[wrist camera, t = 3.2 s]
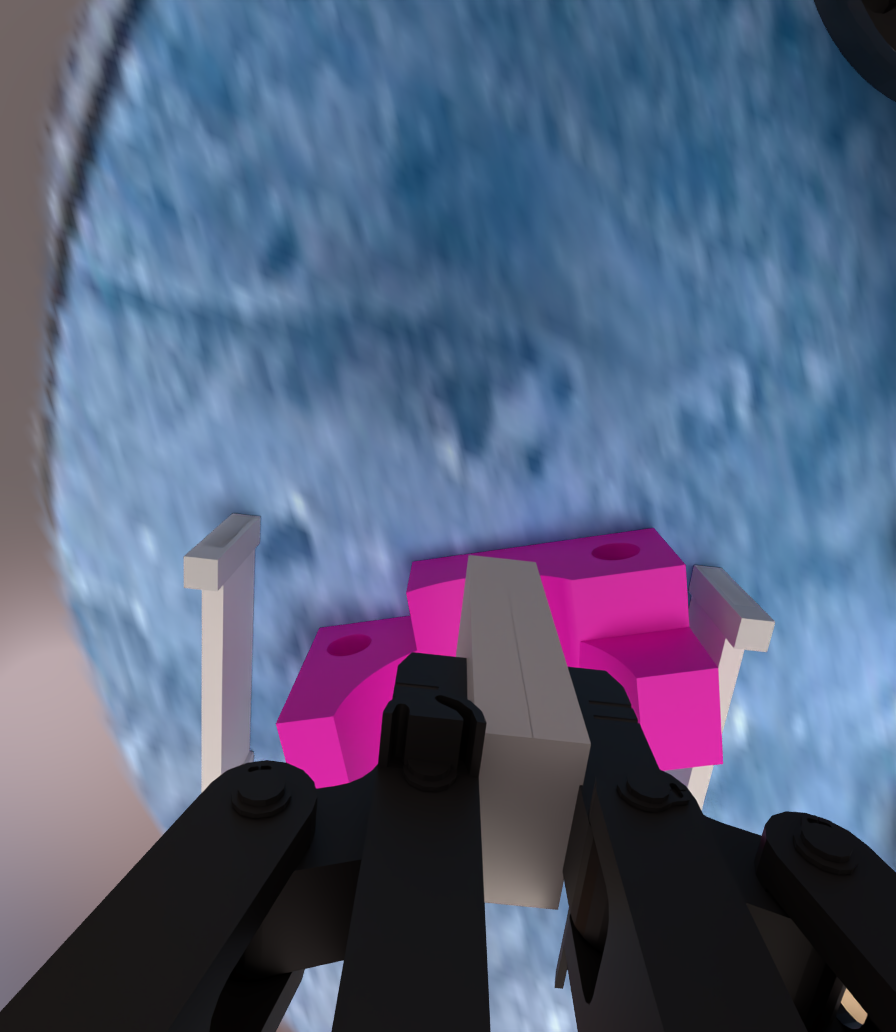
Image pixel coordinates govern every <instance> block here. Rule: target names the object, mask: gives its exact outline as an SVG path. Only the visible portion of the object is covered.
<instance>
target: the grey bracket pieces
mask: <svg viewBox="0 0 896 1032" xmlns="http://www.w3.org/2000/svg"><path fill="white" fill-rule="evenodd" d="M260 518H261V517H260V516H251V515H242V514H233V513H232V514H231V515H230V516H229V517H228V518H227V519H225V520H224V521H223V522H222V523H221V524H220V525H219V526H218V527H216V528H215V529H214V530H213V531H212V532H211V533H210V534H209V535H207V536H206V537H205V538H204V539H203V540H202V541H201V542H199V543H198V544H197V545H196V546H195V547H194V548H193V549H192V550H190V551H189V552H188V553H187V554H186V555H185V556H184V588H191V589H200V590H202V792H203V791H204V790H205V789H206V788H207V787H208V786H209V784H210V783H211V782H212V781H214V780H215V779H216V778H218V777H219V776H220V775H222V774H223V773H224V772H225V771H227V770H229V769H232V768H234V767H237V766H240V765H242V764H245V763H249V762H253V760H254V752H251V751H250V716H251V679H252V641H253V604H254V567H255V548H256V547H257V546H258V545H259V543H260ZM688 591H689V592H690V594H691V595H692V597H691V601H690V605H689V609H688V612H689V627H690V629H691V630H692V631H693V633H694V634H695V636H696V637H697V638H698V640H699V641H700V643H701V644H702V646H703V647H704V648H705V650H706V651H707V653H708V654H709V655H710V657H711V658H712V660H713V661H714V662H715V664H716V665H717V667H718V670H719V691H720V711H721V732H723V728H724V724H725V721H726V717H727V713H728V709H729V706H730V702H731V698H732V694H733V691H734V687H735V683H736V679H737V676H738V672H739V668H740V664H741V661H742V657H743V653H744V650H752V651H761V652H767V650H768V647H769V643H770V639H771V636H772V632H773V629H774V625H775V621H774V620H773V619H772V618H771V617H770V616H769V615H768V614H767V613H766V612H765V611H764V610H763V609H762V608H761V607H760V606H759V605H758V604H757V603H756V602H755V601H754V600H753V599H752V598H751V597H750V596H749V595H748V594H747V593H746V592H745V591H744V590H743V589H742V588H741V587H740V586H739V585H738V584H737V583H736V582H735V581H734V580H733V579H732V578H731V577H730V576H729V575H728V574H727V573H726V572H725V571H724V570H723V569H722V568H717V567H708V566H699V565H694V568H693V572H692V577H691V581H690V585H689V589H688ZM712 769H713V765H709V766H700V767H692V768H683V769H675V770H666V771H664V772H666V773H669V774H671V775H672V776H673V777H675V778H676V779H677V780H679V781H680V782H681V783H683V784H684V785H685V786H686V787H687V788H688V789H689V791H690V792H691V793H692V795H693V796H694V797H695V799H696V800H697V802H698V805H699V807H700V809H701V810H702V807H703V803H704V799H705V795H706V792H707V788H708V784H709V780H710V777H711V773H712Z"/></svg>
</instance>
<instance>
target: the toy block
mask: <svg viewBox="0 0 896 1032" xmlns="http://www.w3.org/2000/svg"><path fill="white" fill-rule="evenodd" d="M468 555H474V556H483V557H493V558H502V559H511V560H520V561H529V562H536V565H537V568H538V571H539V575H540V578H541V581H542V584H543V588H544V591H545V594H546V598H547V601H548V604H549V607H550V611H551V614H552V617H553V621H554V624H555V627H556V630H557V634H558V637H559V640H560V644H561V647H562V650H563V654H564V657H565V660H566V663H567V667H576V668H586V669H595V670H605V671H607V672H608V673H609V674H610V675H611V676H612V677H613V678H614V679H615V680H617V681H618V682H619V683H620V684H621V685H622V686H623V687H624V689H625V691H626V693H627V696H628V698H629V700H630V702H631V708H633V709H634V712H635V714H636V716H637V718H638V723H640V725H641V728H642V730H643V732H644V735H645V737H646V739H647V741H648V744H649V746H650V748H651V751H652V753H653V755H654V757H655V760H656V762H657V764H658V767H659V769H660V770H662V771H666V770H675V769H683V768H692V767H700V766H709V765H718V764H723V753H722V732H721V711H720V691H719V670H718V667H717V665H716V664H715V662H714V661H713V660H712V658H711V657H710V655H709V654H708V653H707V651H706V650H705V648H704V647H703V646H702V644H701V643H700V641H699V640H698V638H697V637H696V636H695V634H694V633H693V631H692V630H691V629H690V627H689V612H688V596H687V579H686V565H685V563H684V562H683V561H682V560H681V559H680V558H679V557H678V555H677V554H676V553H675V552H674V551H673V550H672V548H671V547H670V546H669V545H668V544H667V543H666V542H665V540H664V539H663V538H662V537H661V536H660V535H659V533H658V532H657V531H656V530H655V529H654V528H649V529H642V530H635V531H628V532H621V533H614V534H607V535H600V536H592V537H585V538H578V539H571V540H564V541H557V542H550V543H543V544H535V545H528V546H521V547H514V548H507V549H500V550H493V551H486V552H478V553H471V554H464V555H457V556H450V557H443V558H436V559H429V560H421V561H414V562H412V567H411V572H410V577H409V581H408V586H407V591H406V594H407V600H408V605H409V610H410V615H411V616H404V617H397V618H389V619H382V620H374V621H367V622H359V623H352V624H345V625H337V626H330V627H322V628H319V630H318V632H317V635H316V637H315V639H314V641H313V643H312V646H311V648H310V650H309V652H308V654H307V657H306V659H305V661H304V663H303V665H302V668H301V670H300V672H299V674H298V676H297V678H296V681H295V683H294V685H293V687H292V689H291V692H290V694H289V696H288V698H287V700H286V703H285V705H284V707H283V709H282V711H281V714H280V716H279V718H278V720H277V722H276V726H277V730H278V733H279V737H280V741H281V745H282V748H283V752H284V756H285V760H286V763H289V764H291V765H293V766H295V767H297V768H300V769H302V770H304V771H305V772H306V773H307V774H308V775H309V777H310V778H311V779H312V780H313V781H314V783H315V787H316V788H324V787H331V786H337V785H341V784H346V783H350V782H352V781H354V780H357V779H359V778H361V777H363V776H365V775H366V774H367V773H369V772H370V771H372V770H373V769H374V768H375V766H376V765H377V764H378V757H379V747H380V736H381V725H382V715H383V711H384V709H385V707H386V705H387V704H388V702H389V701H390V700H392V698H393V691H394V686H395V680H396V674H397V668H398V665H399V664H400V663H401V662H402V661H403V660H404V659H405V658H406V657H407V656H408V655H409V654H410V653H412V652H416V653H425V654H434V655H444V656H453V657H456V650H457V643H458V635H459V627H460V619H461V611H462V603H463V595H464V587H465V579H466V571H467V563H468Z"/></svg>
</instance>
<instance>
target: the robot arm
mask: <svg viewBox="0 0 896 1032" xmlns="http://www.w3.org/2000/svg"><path fill="white" fill-rule="evenodd" d="M814 2H815V5H816V8H817V10H818V13H819V15H820V17H821V19H822V21H823V23H824V26H825V27H826V29H827V31H828V33H829V35H830V36H831V38H832V40H833V41H834V43H835V44H836V46H837V47H838V49H839V50H840V52H841V53H842V55H843V56H844V57H845V58H846V60H847V61H848V62H849V63H850V65H851V66H852V67H853V68H854V69H855V70H856V71H857V72H858V73H859V74H860V75H861V76H862V77H863V78H864V79H865V80H866V81H867V82H868V83H870V84H871V85H872V86H873V87H874V88H875V89H877V90H878V91H880V92H881V93H882V94H884V95H885V96H887V97H888V98H890V99H891V100H893V101H895V102H896V0H814ZM563 882H565V888H566V893H567V899H568V904H569V910H568V915H567V920H566V925H565V930H564V934H563V939H562V944H561V949H560V954H559V959H558V964H557V968H556V976H555V988H562V989H563V986H564V981H565V977H566V972H567V970H568V974H569V980H570V986H571V992H572V999H573V1005H574V1011H575V1017H576V1023H577V1029H578V1032H896V872H895V871H894V870H893V869H892V868H891V867H890V866H888V865H887V864H886V863H885V862H884V861H883V860H882V859H881V858H880V857H879V856H878V855H877V854H876V853H875V852H874V851H873V850H872V849H871V848H870V847H869V846H867V845H866V844H865V843H864V842H862V841H861V840H860V839H858V838H857V837H856V836H855V835H853V834H852V833H851V832H849V831H848V830H846V829H844V828H842V827H840V826H838V825H836V824H834V823H832V822H831V821H829V820H827V819H824V818H821V817H817V816H814V815H810V814H807V813H800V812H787V811H786V812H783V813H779V814H776V815H772V816H771V818H770V819H769V820H768V822H767V823H766V824H765V827H764V830H763V833H762V836H761V835H757V834H754V833H751V832H748V831H745V830H742V829H739V828H736V827H733V826H730V825H727V824H724V823H721V822H719V821H716V820H714V819H711V818H709V817H706V816H705V815H703V813H702V811H701V809H700V807H699V805H698V802H697V800H696V799H695V797H694V796H693V795H692V793H691V792H690V791H689V789H688V788H687V787H686V786H685V785H684V784H683V783H681V782H680V781H679V780H677V779H676V778H675V777H673V776H672V775H671V774H669V773H666V772H664V771H662V770H660V769H659V767H658V764H657V762H656V760H655V757H654V755H653V753H652V751H651V748H650V746H649V744H648V741H647V739H646V737H645V735H644V732H643V730H642V728H641V725H640V723H638V718H637V716H636V714H635V712H634V709H633V708H631V702H630V700H629V698H628V696H627V693H626V691H625V689H624V687H623V686H622V685H621V684H620V683H619V682H618V681H617V680H615V679H614V678H613V677H612V676H611V675H610V674H609V673H608V672H607V671H605V670H595V669H586V668H576V667H567V663H566V660H565V657H564V654H563V650H562V647H561V644H560V640H559V637H558V634H557V630H556V627H555V624H554V621H553V617H552V614H551V611H550V607H549V604H548V601H547V598H546V594H545V591H544V588H543V584H542V581H541V578H540V575H539V571H538V568H537V565H536V562H529V561H520V560H511V559H502V558H493V557H483V556H474V555H468V563H467V571H466V579H465V587H464V595H463V603H462V611H461V619H460V627H459V635H458V643H457V650H456V657H453V656H444V655H434V654H425V653H416V652H412V653H410V654H409V655H408V656H407V657H406V658H405V659H404V660H403V661H402V662H401V663H400V664H399V665H398V668H397V674H396V680H395V686H394V691H393V698H392V700H390V701H389V702H388V704H387V705H386V707H385V709H384V711H383V715H382V725H381V736H380V747H379V757H378V764H377V765H376V766H375V768H374V769H373V770H372V771H370V772H369V773H367V774H366V775H365V776H363V777H361V778H359V779H357V780H354V781H352V782H350V783H346V784H341V785H337V786H331V787H324V788H316V787H315V783H314V781H313V780H312V779H311V778H310V777H309V775H308V774H307V773H306V772H305V771H304V770H302V769H300V768H297V767H295V766H293V765H291V764H289V763H284V762H277V761H269V760H266V761H258V762H249V763H245V764H242V765H240V766H237V767H234V768H232V769H229V770H227V771H225V772H224V773H223V774H222V775H220V776H219V777H218V778H216V779H215V780H214V781H212V782H211V783H210V784H209V786H208V787H207V788H206V789H205V790H204V791H203V792H202V793H201V794H200V795H199V796H198V798H197V799H196V800H195V801H194V802H193V803H192V804H191V805H190V806H189V807H188V808H187V809H186V811H185V812H184V813H183V814H182V815H181V816H180V817H179V818H178V819H177V820H176V821H175V823H174V824H173V825H172V826H171V827H170V828H169V829H168V830H167V831H166V832H165V833H164V834H163V836H162V837H161V838H160V839H159V840H158V841H157V842H156V843H155V844H154V845H153V846H152V848H151V849H150V850H149V851H148V852H147V853H146V854H145V855H144V856H143V857H142V858H141V860H140V861H139V862H138V863H137V864H136V865H135V866H134V867H133V868H132V869H131V870H130V871H129V873H128V874H127V875H126V876H125V877H124V878H123V879H122V880H121V881H120V882H119V883H118V884H117V886H116V887H115V888H114V889H113V890H112V891H111V892H110V893H109V894H108V895H107V896H106V897H105V899H104V900H103V901H102V902H101V903H100V904H99V905H98V906H97V908H95V910H94V911H93V912H92V913H91V914H90V915H89V916H88V917H87V918H86V919H85V920H84V921H83V922H82V924H81V925H80V926H79V927H78V928H77V929H76V930H75V931H74V932H73V934H71V936H70V937H69V938H68V939H67V940H66V941H65V942H64V943H63V944H62V945H61V946H60V948H59V949H58V950H57V951H56V952H55V953H54V954H53V955H52V956H51V957H50V958H49V959H48V960H47V962H46V963H45V964H44V965H43V966H42V967H41V968H40V969H39V970H38V971H37V972H36V974H35V975H34V976H33V977H32V978H31V979H30V980H29V981H28V982H27V983H26V984H25V985H24V987H23V988H22V989H21V990H20V991H19V992H18V993H17V994H16V995H15V996H14V997H13V999H12V1000H11V1001H10V1002H9V1003H8V1004H7V1005H6V1006H5V1007H4V1008H3V1009H2V1010H1V1012H0V1032H276V1030H277V1028H278V1026H279V1024H280V1022H281V1020H282V1018H283V1016H284V1014H285V1012H286V1010H287V1008H288V1006H289V1004H290V1002H291V1000H292V998H293V996H294V994H295V992H296V990H297V988H298V986H299V984H300V982H301V980H302V977H303V974H304V970H305V969H306V968H311V967H315V966H320V965H324V964H329V963H333V962H338V961H342V960H344V963H343V969H342V975H341V980H340V986H339V992H338V998H337V1003H336V1009H335V1015H334V1021H333V1026H332V1032H490V1011H489V990H488V968H487V946H486V925H485V903H484V902H486V903H496V904H506V905H516V906H526V907H536V908H546V909H555V910H558V907H559V902H560V897H561V892H562V887H563ZM846 988H847V989H848V991H849V992H850V993H851V994H852V996H853V997H854V998H855V999H856V1001H857V1002H858V1003H859V1004H860V1006H861V1007H862V1008H863V1009H864V1011H865V1012H866V1013H867V1017H866V1019H865V1022H864V1023H863V1024H861V1023H859V1022H857V1021H856V1020H855V1019H854V1017H853V1016H852V1015H851V1014H850V1013H849V1012H848V1011H847V1010H846V1008H845V1007H844V1006H843V1005H842V1003H841V1001H842V998H843V995H844V993H845V990H846Z"/></svg>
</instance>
